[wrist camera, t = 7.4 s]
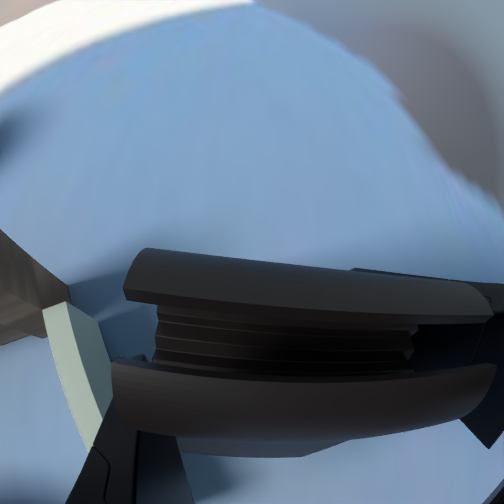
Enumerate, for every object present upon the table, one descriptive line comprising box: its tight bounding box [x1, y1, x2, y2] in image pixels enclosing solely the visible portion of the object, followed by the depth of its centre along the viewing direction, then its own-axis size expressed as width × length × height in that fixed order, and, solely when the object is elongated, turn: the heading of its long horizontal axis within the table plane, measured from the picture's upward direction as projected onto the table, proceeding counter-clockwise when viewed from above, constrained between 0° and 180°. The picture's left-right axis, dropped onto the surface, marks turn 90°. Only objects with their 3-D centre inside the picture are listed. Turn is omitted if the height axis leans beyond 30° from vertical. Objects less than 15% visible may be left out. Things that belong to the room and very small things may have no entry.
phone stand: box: [111, 248, 497, 458], centre depth 9 cm, size 9×6×12 cm, turn 175°
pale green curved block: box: [42, 301, 113, 453], centre depth 13 cm, size 14×3×5 cm, turn 23°
